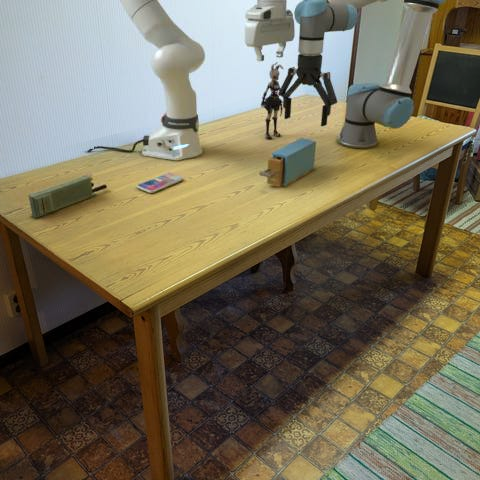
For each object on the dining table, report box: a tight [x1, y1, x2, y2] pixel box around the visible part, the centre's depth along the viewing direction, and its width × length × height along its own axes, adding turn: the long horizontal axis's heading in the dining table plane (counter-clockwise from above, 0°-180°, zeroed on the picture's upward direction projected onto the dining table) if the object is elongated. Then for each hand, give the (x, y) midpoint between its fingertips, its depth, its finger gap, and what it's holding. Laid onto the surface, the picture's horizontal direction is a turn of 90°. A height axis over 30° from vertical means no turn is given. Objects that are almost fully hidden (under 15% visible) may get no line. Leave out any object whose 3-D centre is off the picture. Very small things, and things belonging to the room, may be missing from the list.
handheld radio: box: [28, 173, 108, 219], centre depth 150 cm, size 7×3×25 cm
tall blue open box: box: [271, 137, 317, 187], centre depth 170 cm, size 19×6×10 cm, turn 144°
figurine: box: [260, 61, 284, 140], centre depth 201 cm, size 15×6×30 cm, turn 132°
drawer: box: [259, 156, 285, 188], centre depth 165 cm, size 23×4×8 cm, turn 144°
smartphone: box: [136, 172, 184, 194], centre depth 164 cm, size 7×1×15 cm
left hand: (270, 59), depth 160 cm, fingers open, 8 cm apart
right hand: (305, 121), depth 167 cm, fingers open, 13 cm apart
